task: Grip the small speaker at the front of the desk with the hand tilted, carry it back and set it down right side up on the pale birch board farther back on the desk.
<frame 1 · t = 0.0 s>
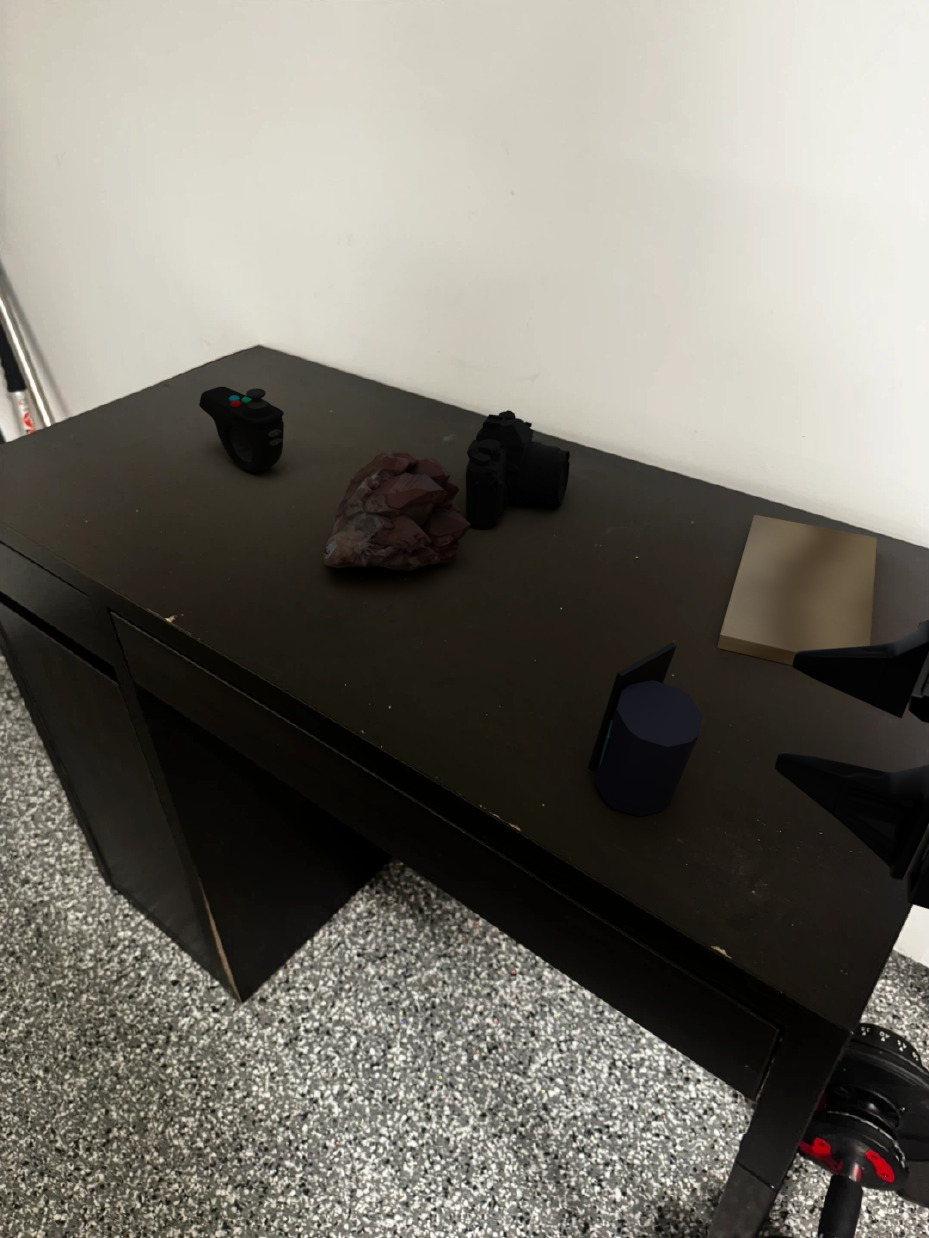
hand: (785, 706, 51), 14 cm above the table, tool horizontal, fingers open, 9 cm apart
birch board: (800, 595, 83), on the table
controller: (250, 466, 104), on the table
film camera: (518, 502, 98), on the table
mineral specimen: (398, 562, 88), on the table
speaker: (640, 785, 64), on the table
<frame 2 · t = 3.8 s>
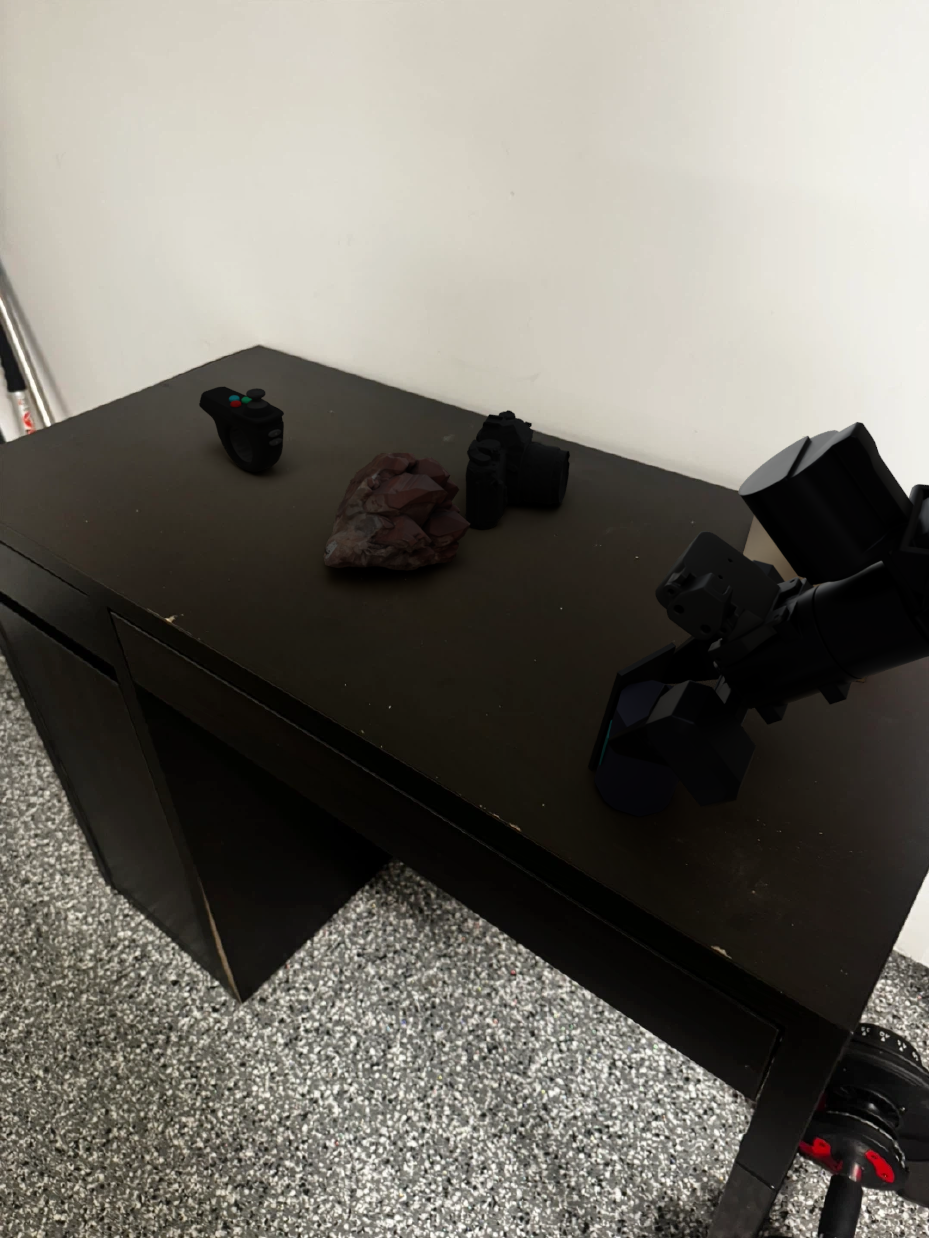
hand: (633, 710, 61), 7 cm above the table, tool tilted 45°, fingers closed on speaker, 7 cm apart
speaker: (640, 785, 64), on the table, touching gripper
everything else where it was.
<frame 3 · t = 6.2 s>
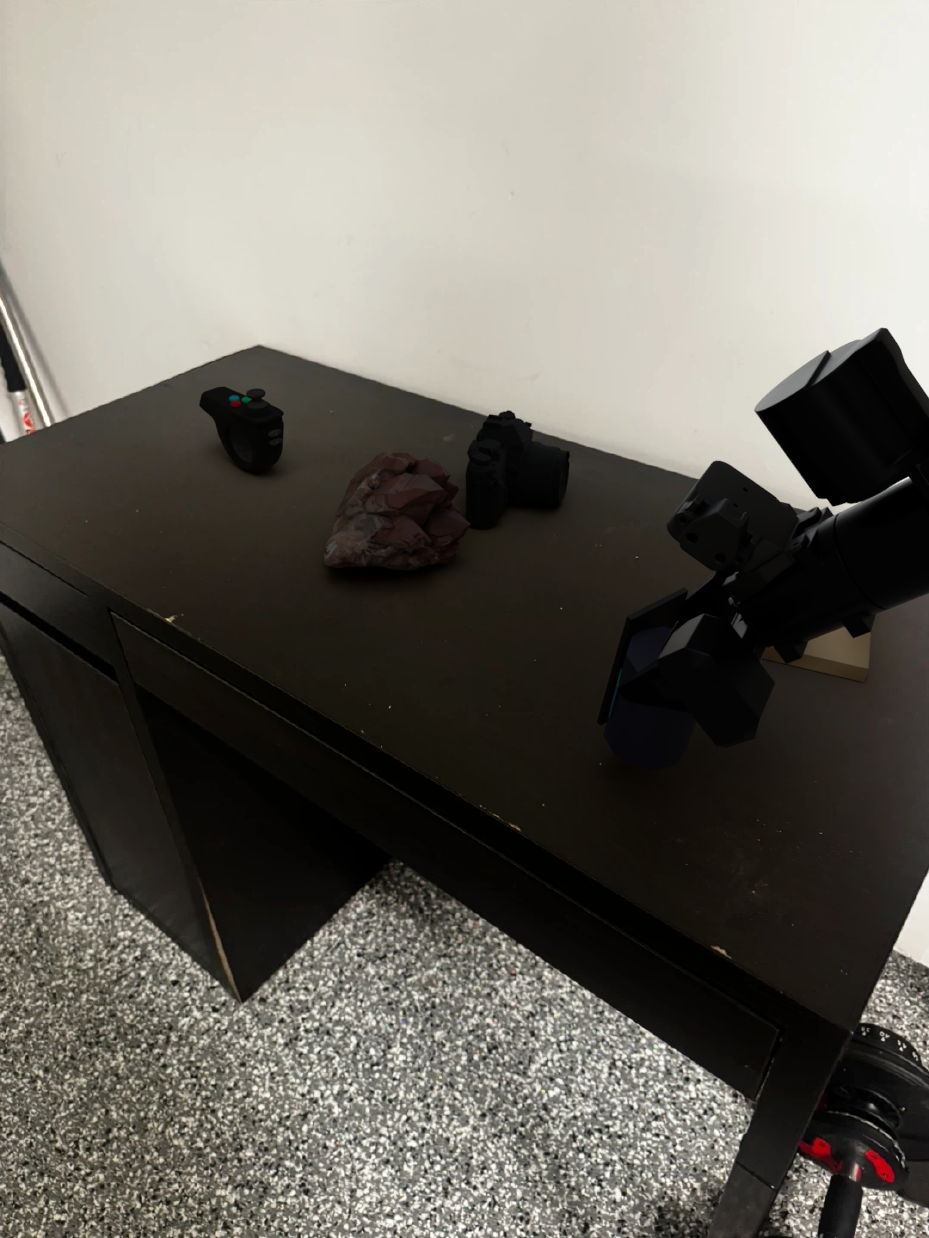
hand: (643, 658, 58), 11 cm above the table, tool tilted 45°, fingers closed on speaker, 7 cm apart
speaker: (652, 740, 61), point 4 cm above the table, touching gripper
everything else where it was.
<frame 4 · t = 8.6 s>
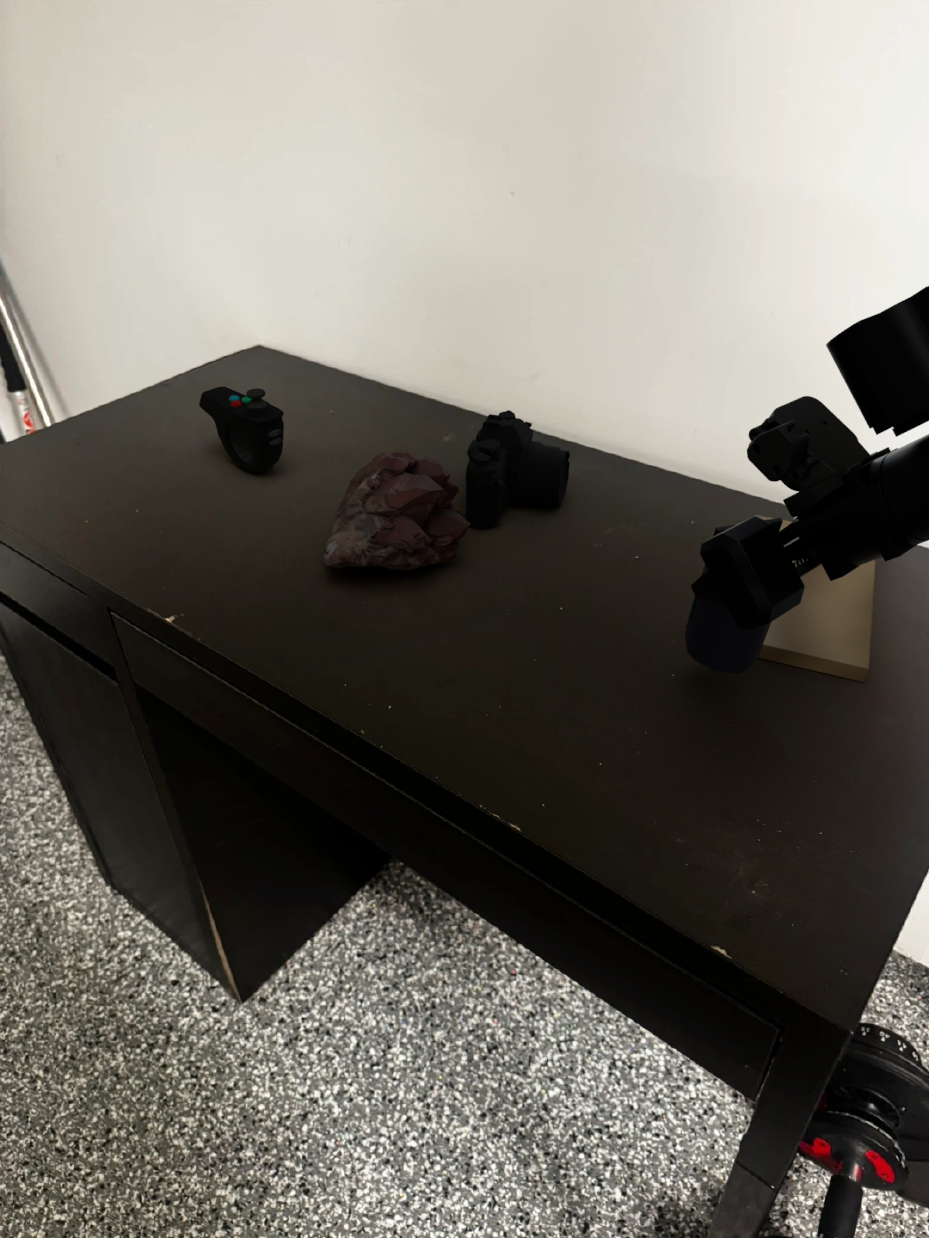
hand: (728, 572, 66), 11 cm above the table, tool tilted 45°, fingers closed on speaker, 7 cm apart
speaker: (728, 652, 69), point 4 cm above the table, touching gripper
everything else where it was.
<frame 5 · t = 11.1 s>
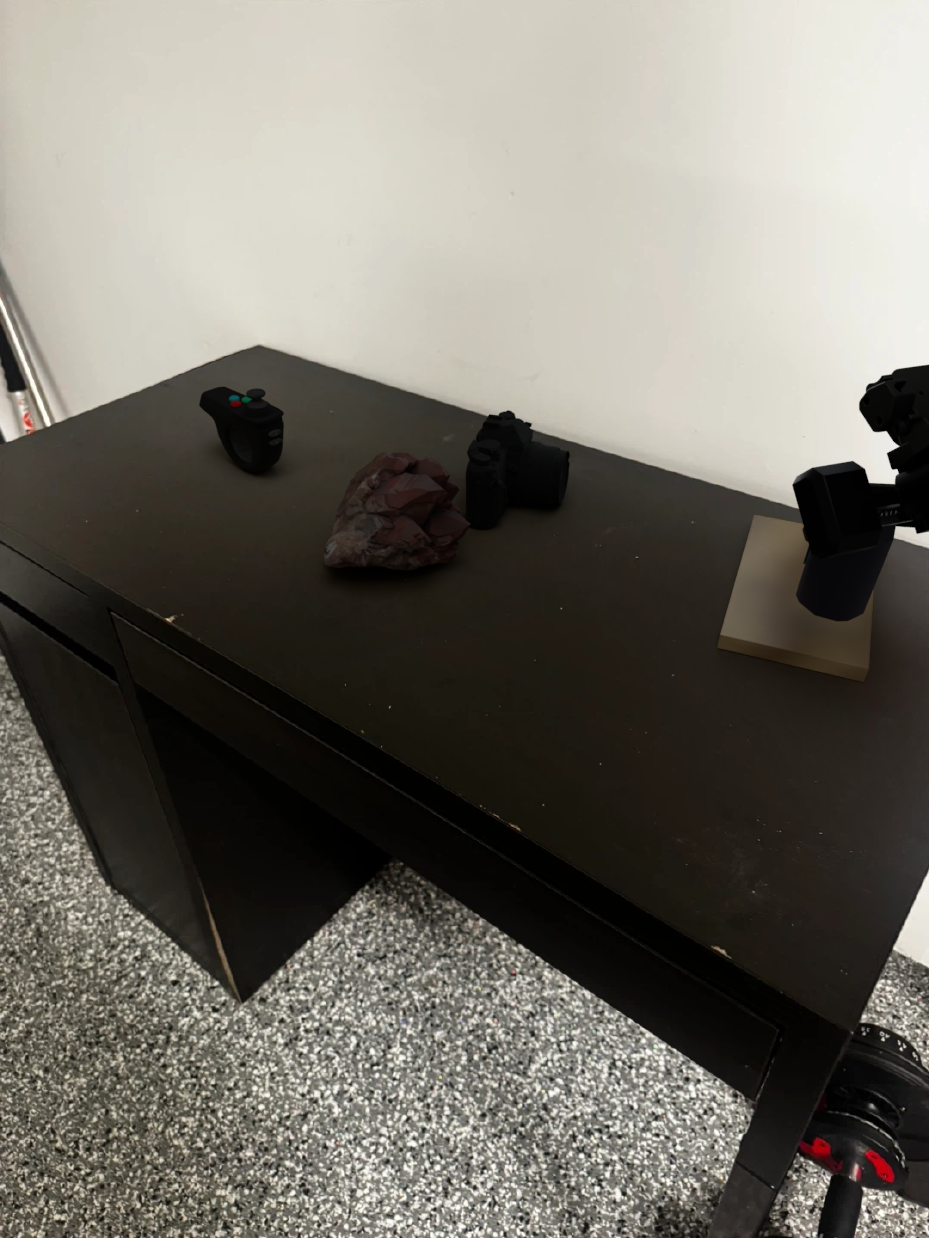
hand: (847, 526, 71), 11 cm above the table, tool tilted 45°, fingers closed on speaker, 7 cm apart
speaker: (838, 605, 74), point 4 cm above the table, touching gripper
everything else where it was.
when the fingers open (8 cm above the table, at t = 13.3 s): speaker stays where it is, resting on birch board.
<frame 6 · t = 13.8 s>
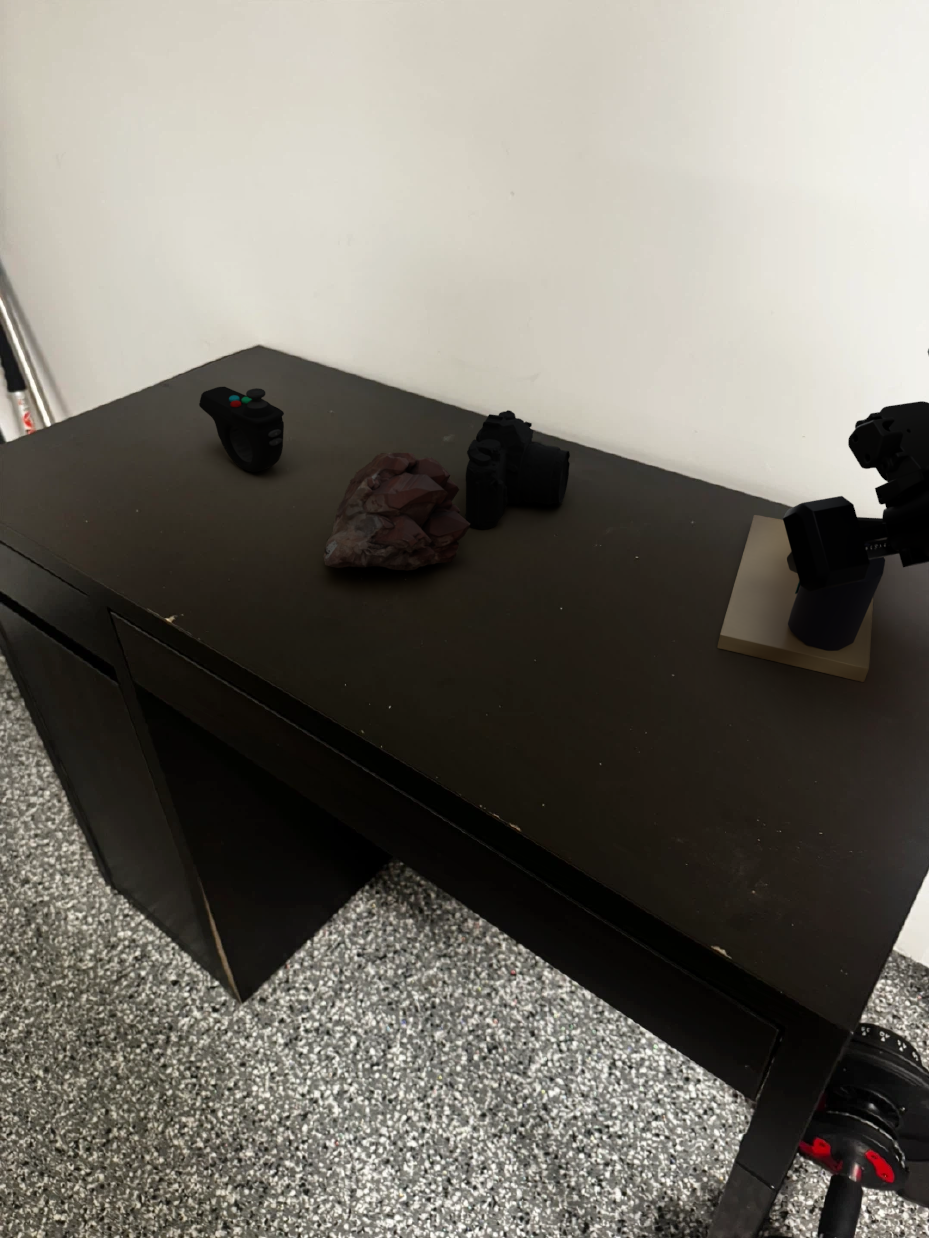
hand: (837, 554, 73), 8 cm above the table, tool tilted 45°, fingers open, 9 cm apart
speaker: (828, 633, 76), point 1 cm above the table, touching birch board
everything else where it was.
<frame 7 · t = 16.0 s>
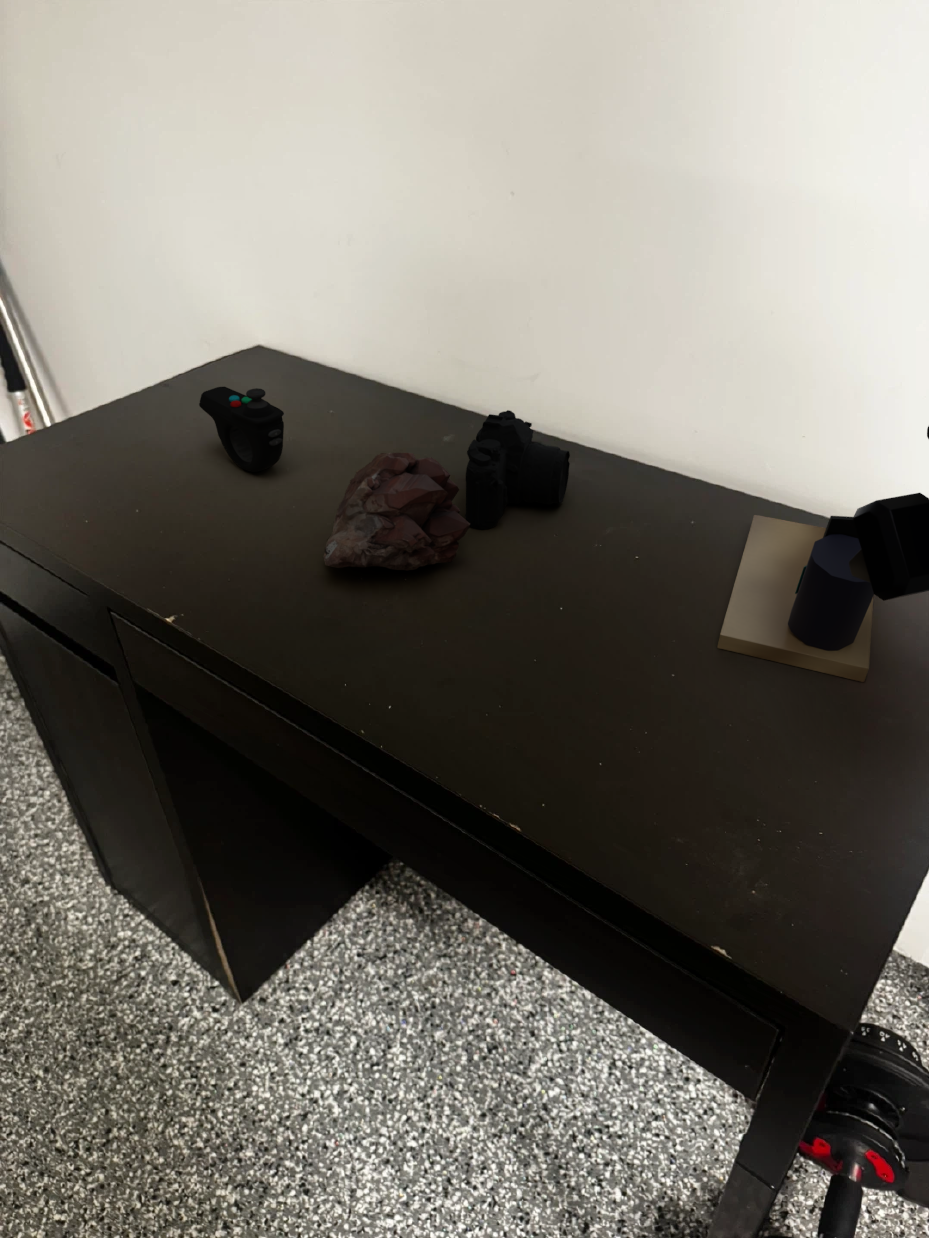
hand: (903, 558, 66), 12 cm above the table, tool tilted 45°, fingers open, 9 cm apart
nothing on the table moved.
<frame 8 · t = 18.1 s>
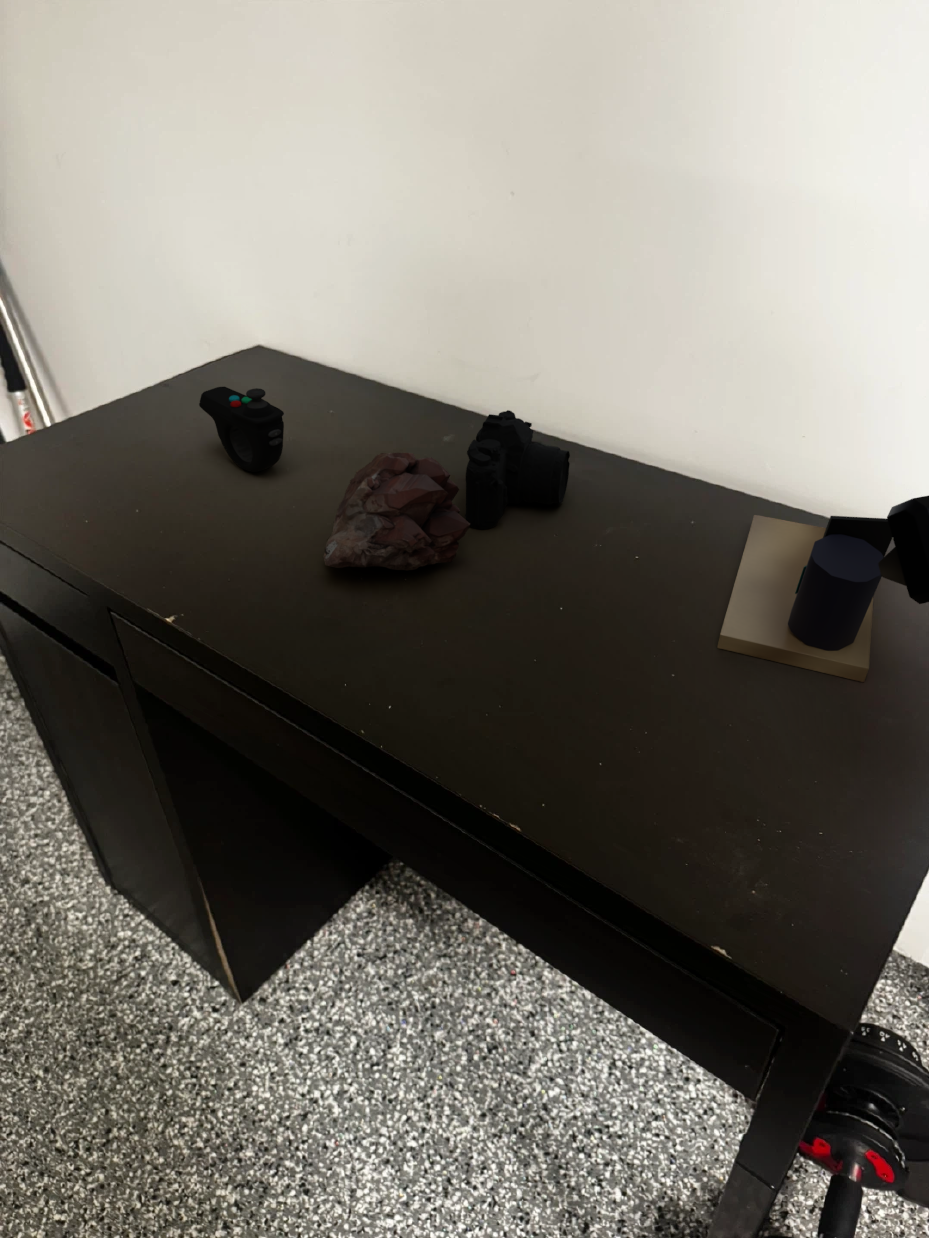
nothing on the table moved.
at the end: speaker inside the target area on the birch board (7.6 cm from its centre), point 1.3 cm above the birch board's base; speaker tilted 0°; the gripper is holding nothing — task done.
